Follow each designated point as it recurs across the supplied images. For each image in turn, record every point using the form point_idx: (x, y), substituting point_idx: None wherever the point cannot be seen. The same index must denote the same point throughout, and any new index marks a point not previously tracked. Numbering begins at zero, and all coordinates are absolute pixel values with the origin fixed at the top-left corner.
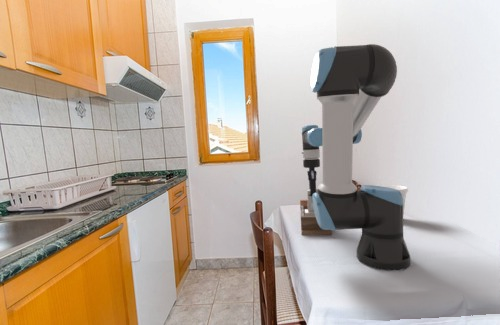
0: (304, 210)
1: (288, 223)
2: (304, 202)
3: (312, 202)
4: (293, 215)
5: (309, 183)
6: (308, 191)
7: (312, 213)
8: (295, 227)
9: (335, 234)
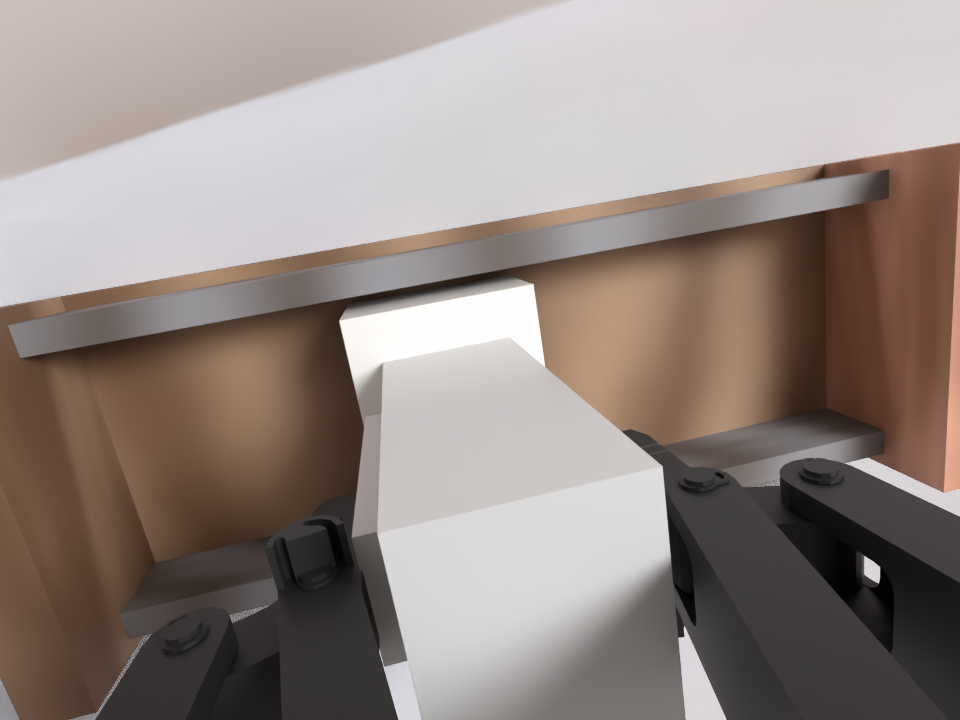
0: (824, 217)
1: (360, 75)
2: (924, 218)
3: (323, 514)
4: (703, 87)
5: (873, 681)
6: (389, 556)
7: (363, 422)
8: (224, 195)
9: None
